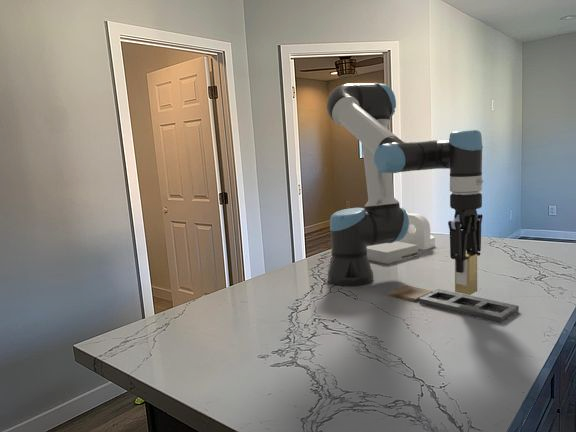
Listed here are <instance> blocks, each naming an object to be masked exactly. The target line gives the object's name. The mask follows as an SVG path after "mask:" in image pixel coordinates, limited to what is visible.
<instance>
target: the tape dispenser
mask: <svg viewBox="0 0 576 432" xmlns="http://www.w3.org/2000/svg"><path fill="white" fill-rule="evenodd" d="M406 213H407V214H408V218H409V227H408V231H407V233H406V235H405V237H404V238H403V239H401V240H400V241H398V242H403V243H409V244H415V245H418V250H423V251H425V250H428V249H431V248H435V247H436V237H435V236H433V234H431V225H430V221H429V220H428V219H427V218H426V217H425V216H424V215H423V214H421V213H415V212H414V213H413V212H410V211H406Z"/></svg>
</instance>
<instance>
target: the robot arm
mask: <svg viewBox="0 0 576 432" xmlns="http://www.w3.org/2000/svg"><path fill="white" fill-rule="evenodd" d="M396 107H397V100H396V95H395V92H394V91H393V89H392V88H391V87H390V86H389V85H388V84H385V83H378V82H373V83H343V84H341V85H339V86H337V87H336V88H334V89H333V90H332V91H331V93H329V96H328V97H327V101H326V109H327V113H328V116H329V118H330V120H332V121H333V122H334V123H335V124H336V125H338V126H341V127H344V128H345V129H346V130H348V131H349V132H350V133H351V134H352V135H353V136H354V137H355V138H356V139H357V140H358V141H360V143H361V144H362V154H363V162H364V170H365V171H364V173H365V180H366V181H365V182H366V189H367V190H366V191H367V202H366V203H365V204H364V207H352V208H350V207H349V208H344V209H341V210H337V211H336V212H334V213H333V214H331V216H330V219H329V220H330V221H329V232H330V247H331V248H330V249H331V260H330V263H329V268H328V271H327V281H328V283H330V284H332V285H333V284H334V285H336V286H343V287H345V286H348V287H349V286H350V287H353V286H361V285H362V286H363V285H366V284H369V283H371V282H373V281H374V271H373V269H372V266H371V264H370V260H369V259H368V257H367V246H372V245H378V244H384V243H393V242H396V241H400V240H401V239H403V238H404V237H405V235H406V233H407V231H408V227H409V218H408V214H407V213H406V212H407V211H406V209H405V208H404V207H401V206H400V201H399V200H397V199H396V198H395V193H394V184H393V175H392V174H396V173H397V174H398V173H404V172H412V171H414V172H415V171H426V170H436V169H437V170H438V169H443V170H445V169H449V191H450V192H451V193H450V195H449V207H450V208H451V209H453V210H454V211H455V212H454V214H453V215H454V217H453V218H454V219H453V220H448V222H447V223H448V224H447V225H448V228H449V229H448V230H449V248H450V249H449V252H450V255H449V256H450V259H452V260H454V261H455V260H456V283H457V284H462V285H467V260H465V256H466V252H468V253H475V254H477V257H478V256H479V257H480V255H481V250H482V223H483V221H482V220H483V214H481V213H480V214H479V213H478V209H481V208H482V206H483V195H482V193H480V192H481V191H482V188H483V185H482V184H483V183H484V180H483V179H482V178H483V176H482V175H483V172H482V171H483V147H484V146H483V139H482V133H481V131H480V130H475V129H473V130H458V131H452V132H451V133H450V132H449V133H450V134H449V138H448V139H447V140H444V139H443V140H437V139H435V140H427V141H413V142H412V141H411V142H407V141H406V142H405V141H403V140H402V139H401V138H399V137H398V136H397V135H395V134H394V133H393V132H392V131H390V129H388V125H389V124H390V123H391V118H392V117H393V116H394V114H395V112H396V110H395V109H397V108H396Z"/></svg>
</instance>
